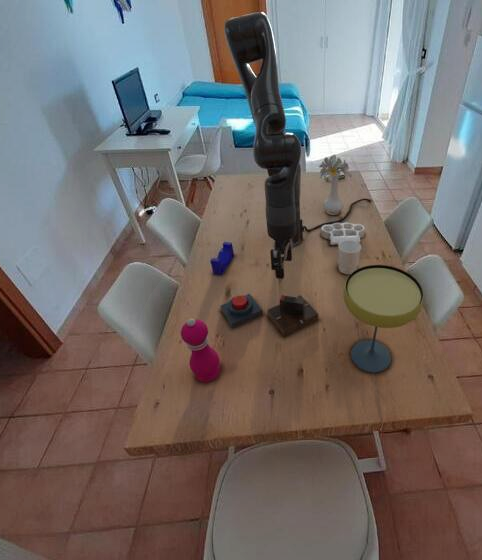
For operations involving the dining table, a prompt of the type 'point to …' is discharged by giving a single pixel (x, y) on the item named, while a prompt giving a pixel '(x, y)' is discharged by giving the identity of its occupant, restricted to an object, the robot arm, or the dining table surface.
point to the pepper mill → (200, 350)
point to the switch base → (292, 319)
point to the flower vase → (333, 183)
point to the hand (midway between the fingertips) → (284, 268)
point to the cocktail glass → (380, 308)
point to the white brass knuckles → (342, 232)
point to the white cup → (348, 256)
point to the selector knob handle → (292, 305)
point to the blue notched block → (222, 258)
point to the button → (239, 302)
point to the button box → (241, 312)
